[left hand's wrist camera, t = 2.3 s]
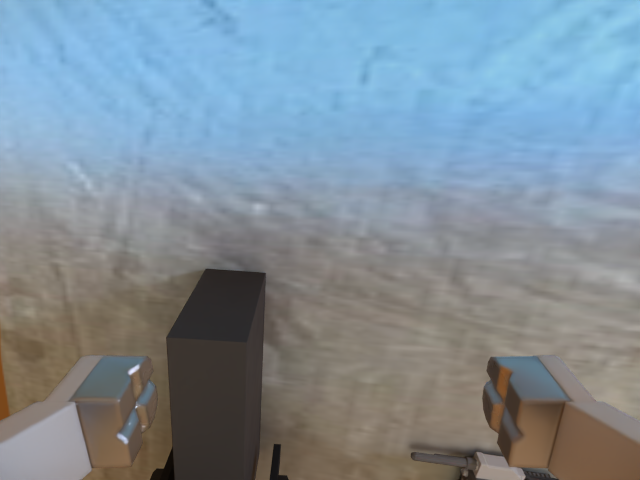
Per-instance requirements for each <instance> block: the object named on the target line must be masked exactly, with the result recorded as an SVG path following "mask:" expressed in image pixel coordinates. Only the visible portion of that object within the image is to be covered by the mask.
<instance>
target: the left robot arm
mask: <svg viewBox="0 0 640 480" xmlns="http://www.w3.org/2000/svg"><path fill="white" fill-rule="evenodd" d="M152 373H153V366H152V362H151V359H150V358H149V357H148V356H108V355H107V356H104V355H86V356H84V357H81V358H80V359H79V360H78V361H77V363H76V364H75V365H74V366H73V367H72V368H71V370H70V371H69V372H68V373H67V374H66V376H65V377H64V378H63V379H62V380H61V381H60V383H59V384H58V385H57V386H56V387H55V389H54V390H53V391H52V392H51V393H50V394H49V396H48V397H47V398H46V399H45V400H44V402H35V403H33V404H31V405H30V406H28V407H26V408H24V409H22V410H20V411H18V412H16V413H14V414H13V415H11V416H9V417H7V418H5V419H3V420H1V421H0V480H81V479H83V478H84V477H85V476H86V475H87V474H88V473H89V472H91V471H92V468H113V467H131V466H132V464H133V462H134V460H135V458H136V456H137V454H138V452H139V449H140V447H141V445H142V443H143V441H142V435H141V434H142V433H143V432H144V431H146V430H147V429H148V428H150V426H151V424H152V422H153V420H154V418H155V413H156V408H157V389H156V386H155V385H154V384H153V383H152V382H151V381H150V380H149V378H150V377H151V375H152ZM487 373H488V375H489V377H490V378H491V380H490V381H489V382H488V383H487V384H486V385H485V386H484V390H483V397H482V399H483V410H484V414H485V417H486V420H487V422H488V424H489V426H490V428H492V429H493V430H494V431H496V432H497V433H498V434H499V435H498V441H497V443H498V445H499V447H500V449H501V452H502V454H503V456H504V458H505V460H506V462H507V464H508V466H509V467H526V468H548V471H550V472H551V473H552V474H553V475H554V476H555V477H557V478H558V479H559V480H640V421H639V420H637V419H635V418H633V417H631V416H629V415H627V414H626V413H624V412H622V411H620V410H618V409H616V408H614V407H612V406H610V405H609V404H607V403H605V402H596V400H595V399H594V398H593V397H592V396H591V395H590V393H589V392H588V391H587V390H586V389H585V387H584V386H583V385H582V384H581V383H580V381H579V380H578V379H577V378H576V377H575V376H574V374H573V373H572V372H571V371H570V370H569V368H568V367H567V366H566V365H565V364H564V363H563V361H562V360H561V359H560V358H559V357H557V356H555V355H543V356H527V357H491V358H490V360H489V361H488V366H487Z"/></svg>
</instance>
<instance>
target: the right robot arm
mask: <svg viewBox="0 0 640 480" xmlns="http://www.w3.org/2000/svg"><path fill="white" fill-rule="evenodd" d="M280 451H281V444H274V449H273V457H272V465H271V473H270V480H288V477H287V476H284V475H279V465H280ZM150 480H175V476H174V459H173V447H172V450H171V452H170V455H169V457H168V460H167V462H166V465H165V468H164V469H156V470H155V471H154V472H153V474H152V476H151V479H150Z"/></svg>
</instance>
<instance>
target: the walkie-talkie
mask: <svg viewBox="0 0 640 480" xmlns="http://www.w3.org/2000/svg"><path fill="white" fill-rule="evenodd" d="M411 458H412V459H413V460H415V461H422V462H430V463H437V464H444V465H451V466H459V467H464V468H461V473H462V477H461V479H460V480H559V479H555V478H551V476H550V475H548V474H541V473H533V472H526V471H523V470H522V468H517V467H509V466H508V464H507V462H506V460H505V458H504V457H502V456H495V455H489V454H483V453H482V452H475V455H474V457H473V458H470V457H465V458H462V457H455V456H448V455H440V454H434V455H432V454H424V453H417V452H413V453H411Z"/></svg>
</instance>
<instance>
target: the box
mask: <svg viewBox="0 0 640 480" xmlns="http://www.w3.org/2000/svg"><path fill="white" fill-rule="evenodd" d="M265 278H266V273H257V272H242V271H228V270H214V269H206V270H205V271H204V273H203V275H202V277H201V278H200V280H199V282H198V284H197V285H196V287H195V289H194V291H193V292H192V294H191V296H190V297H189V299H188V301H187V303H186V304H185V306H184V308H183V310H182V311H181V313H180V315H179V317H178V318H177V320H176V322H175V323H174V325H173V327H172V329H171V330H170V332H169V334H168V336H167V337H166V339H167V356H168V373H169V390H170V407H171V424H172V442H173V459H174V476H175V480H255V476H256V470H257V464H258V457H259V443H260V416H261V388H262V361H263V333H264V306H265Z"/></svg>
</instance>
